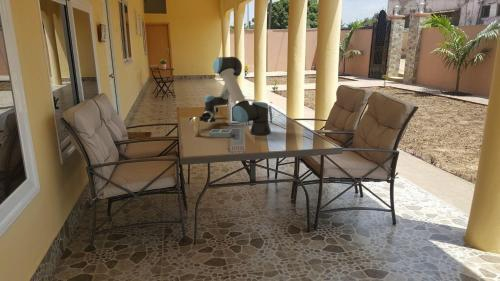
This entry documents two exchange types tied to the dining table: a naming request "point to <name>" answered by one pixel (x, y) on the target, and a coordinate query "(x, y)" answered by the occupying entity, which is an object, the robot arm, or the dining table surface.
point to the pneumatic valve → (215, 109)
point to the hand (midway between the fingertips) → (199, 122)
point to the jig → (220, 133)
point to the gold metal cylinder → (196, 126)
